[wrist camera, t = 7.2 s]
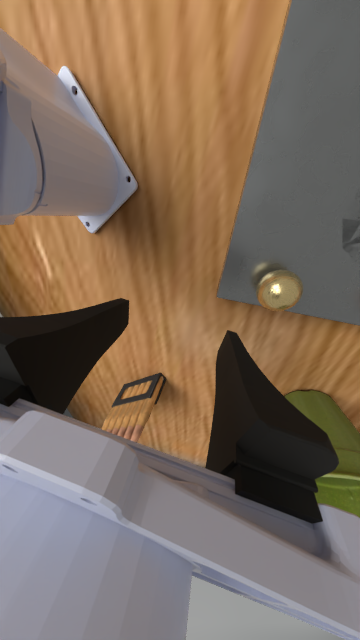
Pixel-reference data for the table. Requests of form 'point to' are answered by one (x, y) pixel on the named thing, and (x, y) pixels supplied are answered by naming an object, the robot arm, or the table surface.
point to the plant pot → (350, 446)
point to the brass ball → (279, 290)
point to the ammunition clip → (134, 407)
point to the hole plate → (305, 168)
